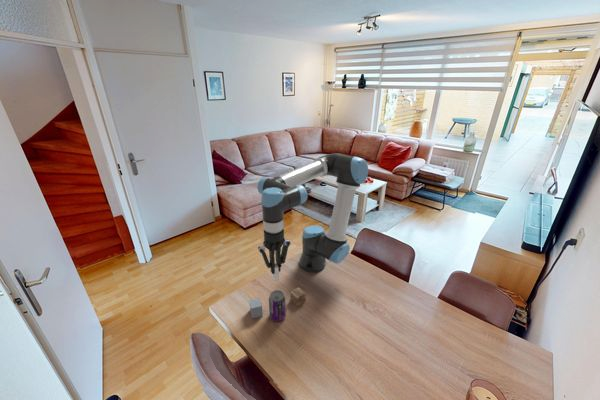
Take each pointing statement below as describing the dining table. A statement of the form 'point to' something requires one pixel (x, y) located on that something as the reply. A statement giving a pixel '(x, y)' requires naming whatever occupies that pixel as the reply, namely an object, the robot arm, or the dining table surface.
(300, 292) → the walnut block
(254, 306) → the slate block
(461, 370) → the dining table surface
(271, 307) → the beverage can
